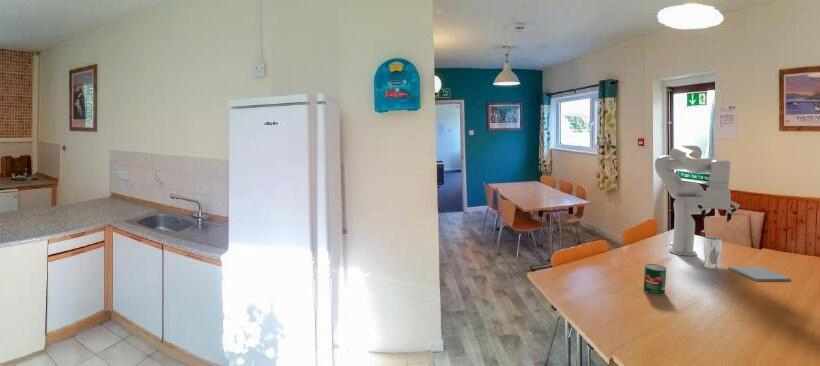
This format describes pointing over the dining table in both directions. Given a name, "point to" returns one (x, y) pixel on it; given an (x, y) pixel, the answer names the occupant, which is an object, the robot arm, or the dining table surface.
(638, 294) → the dining table surface
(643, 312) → the dining table surface
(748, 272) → the grey mat
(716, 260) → the beer glass
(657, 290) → the canned tomato
